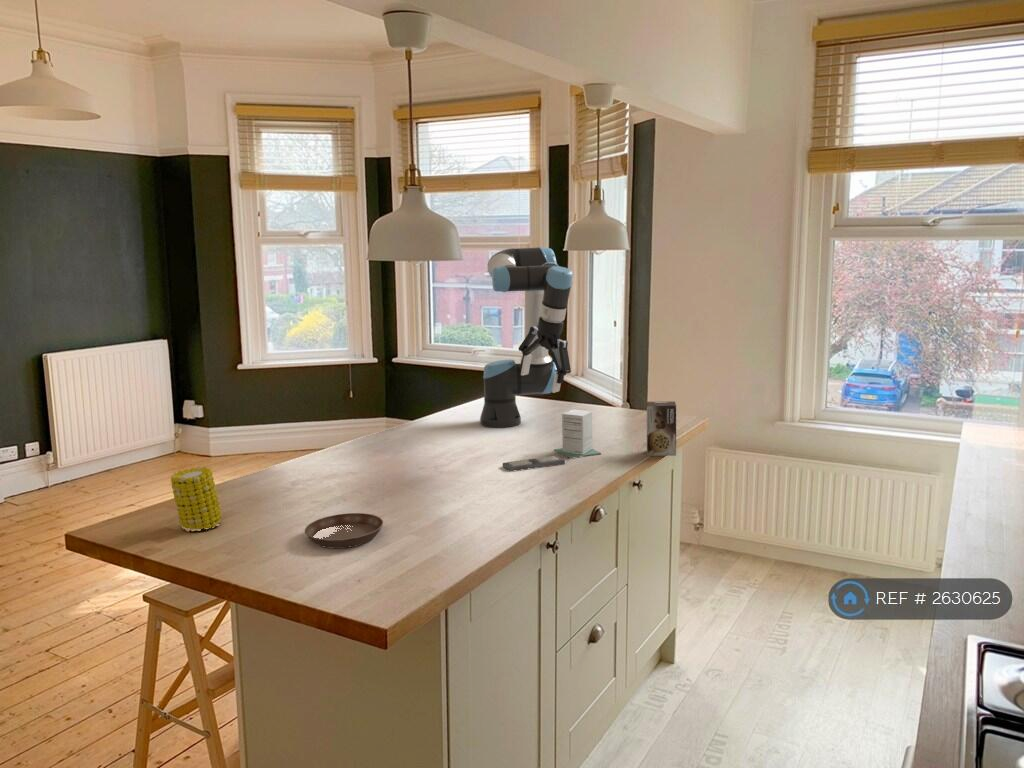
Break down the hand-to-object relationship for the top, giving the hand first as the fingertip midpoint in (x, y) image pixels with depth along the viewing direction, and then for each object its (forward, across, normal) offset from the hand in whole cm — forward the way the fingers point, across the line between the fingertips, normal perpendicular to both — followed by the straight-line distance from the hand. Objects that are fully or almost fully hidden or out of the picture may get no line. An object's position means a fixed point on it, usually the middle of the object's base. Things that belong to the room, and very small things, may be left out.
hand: (539, 383), depth 243 cm
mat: (+21, +13, +9) cm, 26 cm away
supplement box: (+20, +13, +9) cm, 26 cm away
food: (+23, -10, -103) cm, 106 cm away
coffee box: (+15, +33, +26) cm, 44 cm away
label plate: (+20, +13, -11) cm, 26 cm away
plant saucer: (+15, +20, -82) cm, 86 cm away
